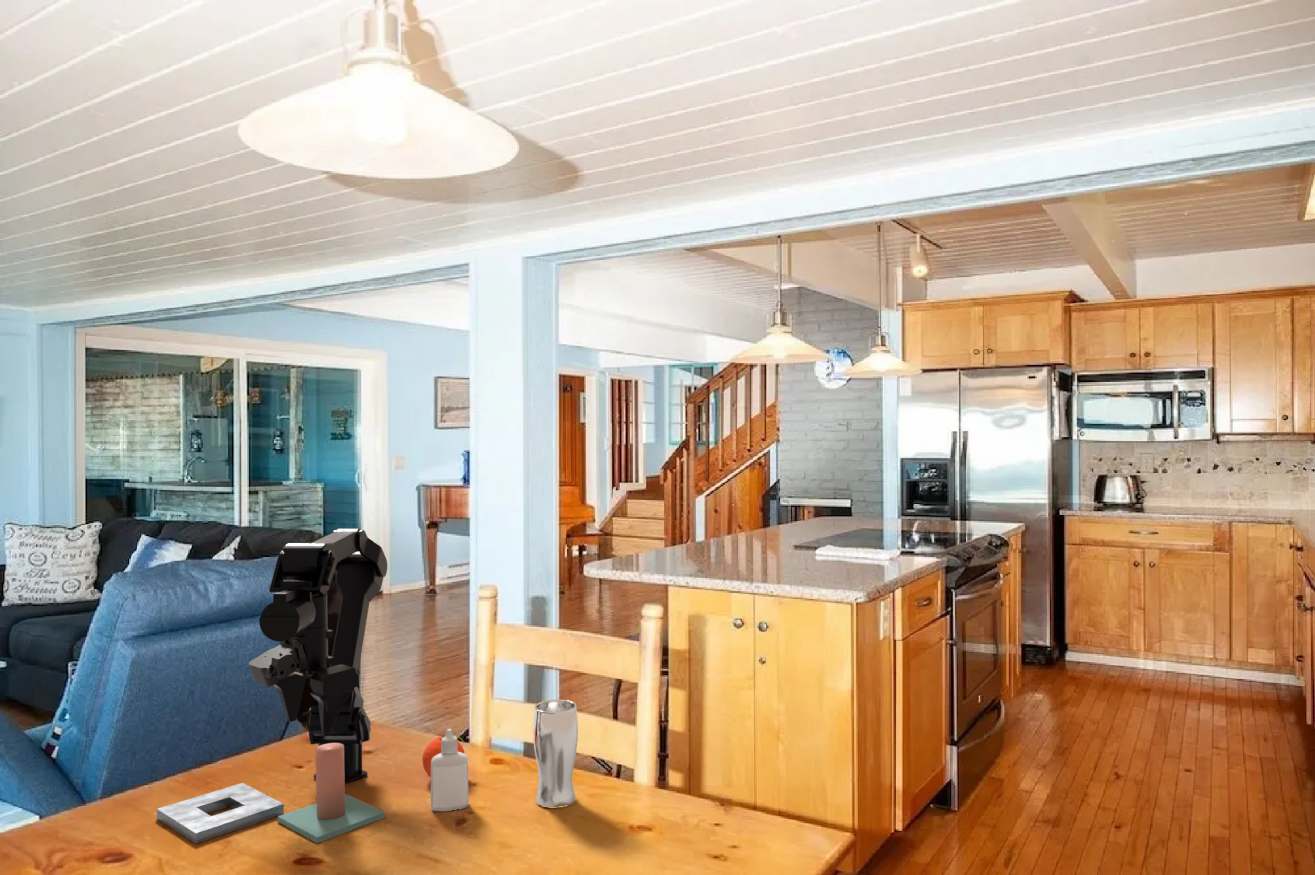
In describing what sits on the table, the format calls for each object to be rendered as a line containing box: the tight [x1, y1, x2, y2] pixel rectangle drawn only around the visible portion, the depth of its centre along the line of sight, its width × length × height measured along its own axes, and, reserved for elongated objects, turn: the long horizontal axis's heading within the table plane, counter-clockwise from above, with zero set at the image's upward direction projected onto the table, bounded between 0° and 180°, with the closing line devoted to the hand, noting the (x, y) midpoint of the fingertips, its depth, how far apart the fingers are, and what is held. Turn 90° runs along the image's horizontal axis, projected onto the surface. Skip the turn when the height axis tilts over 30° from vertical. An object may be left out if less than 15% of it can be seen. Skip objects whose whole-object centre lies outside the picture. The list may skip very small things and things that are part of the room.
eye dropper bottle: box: [430, 728, 469, 812], centre depth 141 cm, size 4×6×12 cm
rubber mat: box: [277, 793, 386, 844], centre depth 137 cm, size 11×11×1 cm
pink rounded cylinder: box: [315, 743, 346, 820], centre depth 137 cm, size 4×4×10 cm
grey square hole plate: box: [156, 782, 285, 845], centre depth 138 cm, size 13×13×2 cm
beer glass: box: [532, 699, 579, 807], centre depth 143 cm, size 7×7×15 cm
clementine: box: [422, 734, 466, 778], centre depth 153 cm, size 8×7×7 cm
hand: (308, 727), depth 140 cm, fingers open, 9 cm apart
